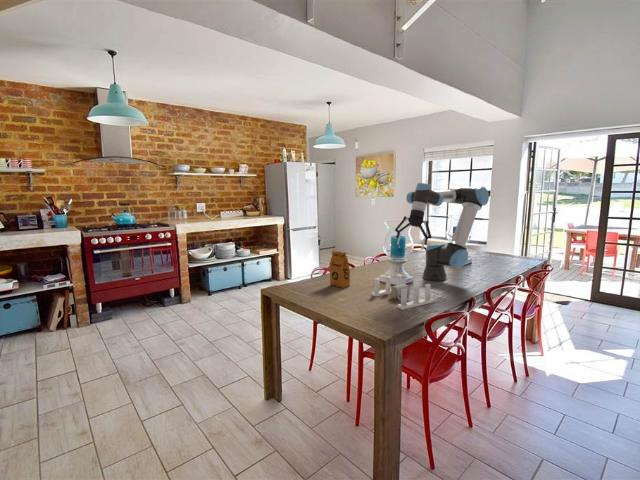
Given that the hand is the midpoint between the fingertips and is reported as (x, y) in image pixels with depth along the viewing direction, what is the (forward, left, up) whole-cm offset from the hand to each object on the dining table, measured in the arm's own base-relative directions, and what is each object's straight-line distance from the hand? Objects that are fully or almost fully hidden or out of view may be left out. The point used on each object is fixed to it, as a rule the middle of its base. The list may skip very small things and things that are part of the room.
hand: (409, 247), depth 184 cm
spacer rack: (+9, +4, -27) cm, 29 cm away
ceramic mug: (+9, +5, -27) cm, 29 cm away
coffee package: (+26, -34, -27) cm, 51 cm away
